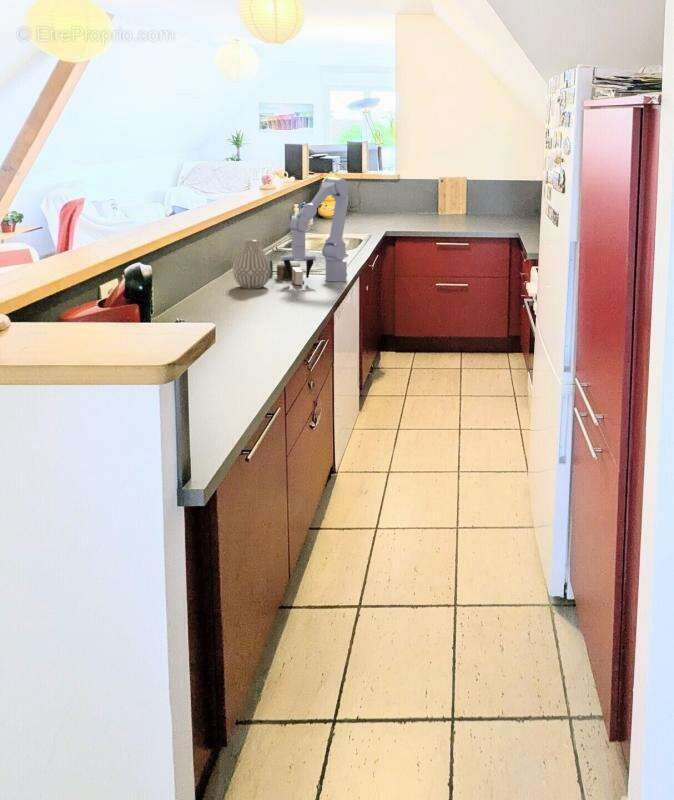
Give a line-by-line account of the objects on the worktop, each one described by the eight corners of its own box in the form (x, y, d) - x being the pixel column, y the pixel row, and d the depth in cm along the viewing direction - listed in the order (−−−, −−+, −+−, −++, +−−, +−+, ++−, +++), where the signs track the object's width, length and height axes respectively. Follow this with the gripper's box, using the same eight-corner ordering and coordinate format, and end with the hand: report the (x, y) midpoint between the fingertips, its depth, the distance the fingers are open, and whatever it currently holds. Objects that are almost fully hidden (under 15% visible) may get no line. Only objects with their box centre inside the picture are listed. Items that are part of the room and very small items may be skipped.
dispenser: (299, 277, 442) (299, 261, 440) (299, 280, 434) (299, 264, 432) (277, 276, 441) (277, 261, 439) (276, 279, 434) (276, 264, 432)
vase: (256, 292, 405) (255, 243, 399) (225, 288, 413) (224, 240, 407) (278, 286, 418) (278, 239, 412) (247, 282, 426) (247, 236, 420)
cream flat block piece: (298, 279, 432) (299, 267, 430) (302, 284, 421) (302, 271, 419) (292, 279, 431) (292, 267, 430) (295, 284, 420) (295, 271, 419)
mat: (304, 281, 430) (304, 280, 430) (304, 284, 424) (304, 283, 424) (292, 281, 429) (292, 280, 429) (292, 284, 424) (292, 283, 424)
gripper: (314, 244, 424) (313, 275, 427) (280, 244, 421) (280, 276, 425) (316, 246, 417) (316, 278, 421) (282, 247, 415) (282, 279, 418)
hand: (298, 277), depth 423 cm, fingers open, 7 cm apart
